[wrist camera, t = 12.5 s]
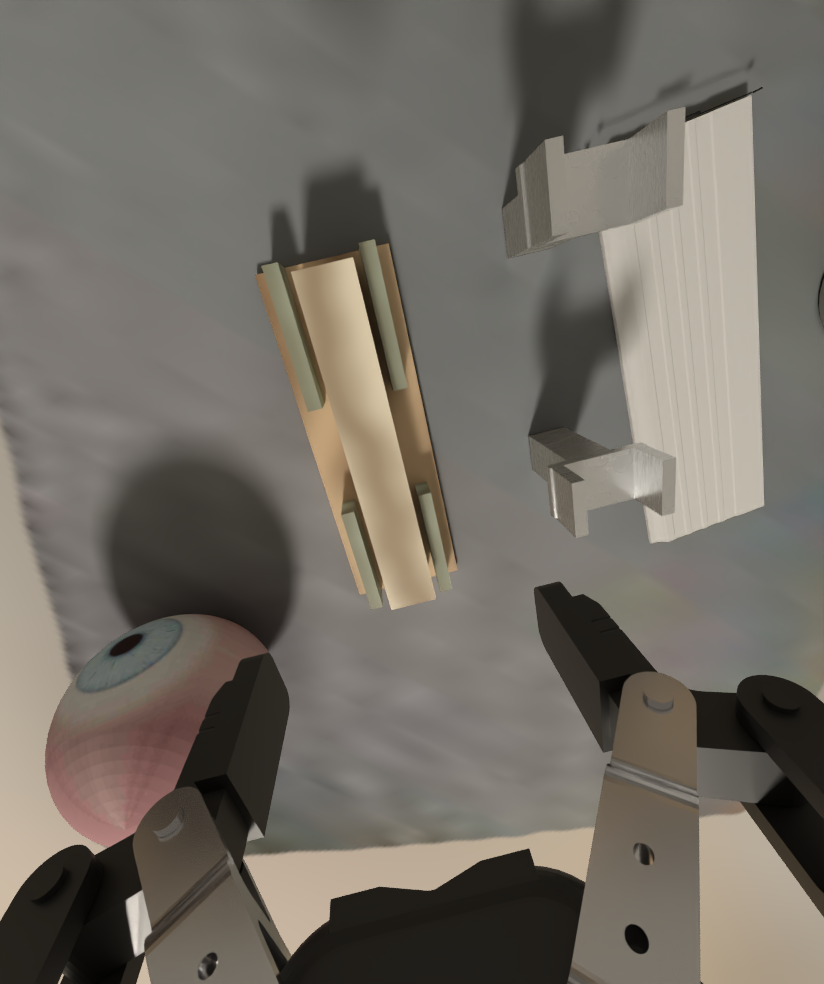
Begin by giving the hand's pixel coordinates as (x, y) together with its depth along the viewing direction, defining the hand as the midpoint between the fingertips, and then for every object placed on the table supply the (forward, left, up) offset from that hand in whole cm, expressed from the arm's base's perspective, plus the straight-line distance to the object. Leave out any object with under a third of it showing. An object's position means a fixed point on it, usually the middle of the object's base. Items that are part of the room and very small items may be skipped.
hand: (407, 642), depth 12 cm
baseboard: (-25, -1, -23) cm, 34 cm away
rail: (0, 0, -22) cm, 22 cm away
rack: (+1, 0, -22) cm, 22 cm away
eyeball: (+20, +15, -22) cm, 33 cm away
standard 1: (-13, -12, -22) cm, 29 cm away
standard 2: (-13, +4, -22) cm, 26 cm away
